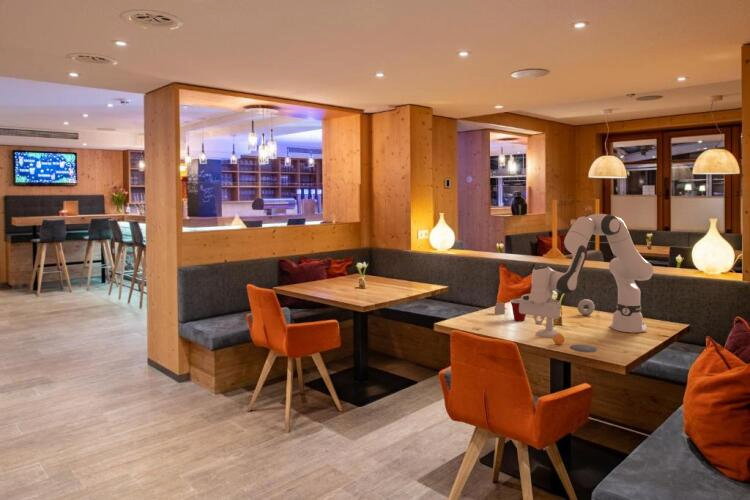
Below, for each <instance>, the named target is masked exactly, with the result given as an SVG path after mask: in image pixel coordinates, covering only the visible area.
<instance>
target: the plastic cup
mask: <svg viewBox="0 0 750 500" xmlns="http://www.w3.org/2000/svg"><path fill="white" fill-rule="evenodd" d="M521 300H522V299H521V298H517V299H516V298H515V299H510V301H509V302H510V304H511V307H512V308H511V309H512V314H513V319H514V321H516V322H524V321H525V320H526V315H527V314H521V313H520V312H519V305H520V301H521Z"/></svg>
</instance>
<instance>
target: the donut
mask: <svg viewBox="0 0 750 500" xmlns="http://www.w3.org/2000/svg"><path fill="white" fill-rule="evenodd" d="M585 306H588V308H587V309H584V307H585ZM595 308H596V307H595V304H594V302H593V301H592V300H590V299H588V298H587V299H586V298H584V299H582V300H580V301H579V302H578V304H577V311H578V313H579V314H581V315H582V316H590V315H592V314H593V313H594V311H595V310H596V309H595Z"/></svg>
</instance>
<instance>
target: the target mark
mask: <svg viewBox="0 0 750 500" xmlns="http://www.w3.org/2000/svg"><path fill="white" fill-rule="evenodd" d="M569 349H571V350H573V351H577V352H581V353H594V352H596V351H598V348H596V347H595V346H593V345H588V344H572V345H570V348H569Z"/></svg>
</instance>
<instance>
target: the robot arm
mask: <svg viewBox="0 0 750 500" xmlns="http://www.w3.org/2000/svg"><path fill="white" fill-rule="evenodd" d="M628 229H629V228H628V227H627V225H626V224H625V222H624V220H622V218H620V217H617V216H615V215H614V214H605V213H595V214H593V213H590V214H585V215H584V216H580V217H577V219H576V220H575V221H574V223H572V225H571V227H570V228H569V230H568V232H567V233H566V235H565V237H564V241H563V244H564V247H565V250H567V251H568V252H569V253H571V254H572V259H571V261H570V263H569V266H568V269H567V271H566V272H560V271H557V270H554V269H552V268H551V267H550V266H549V265H546V264H539V265H535V266H534V267H533V268H532V271H531V272H532V273H531V281H530V282H531V289H530V293H526V294H523V295H521V296H520V299H522V300H521V301H520V305H519V312H520V313H521V314H526V315H528V316H533V319H534V321H535V323H534V324H535V326H536V325H538V326H542V325H543V322H544V320H545V319H546V318H547V317H548V318H553V319H559V318H560V316H561V309H560V308H561V301H559V300H558V299H553V298H552V299H549V290H550V289H551V290H552V291H553V292H559V293H561V294H563V295H564V294H565V295H571V294H573V293H574V292H575V290H577V288H578V284H579V278H580V276H581V273H582V270H583V267H584V266H585V263H586V258H587V256H588V249H587V246H588V244H589V242H590V240H591V237H592V235H594V236H606V238H607V239H606V240H607V242H608V244H609V247H610V250H611V252H612V254H613V255H614V256H615V257H614V258H612V259H611V260H610V262H609V265H608V268H609V272H610V273H611V274H612V275H613V277H614V280H615V283H616V286H617V302H616V310H615V311H614V312H613V315H612V323H611V324H609V326H608V327H609V328H610V329H614V330H615V331H619V332H624V333H647V332H648V331H647V324H646V323H644V321H643V318H644V317H643V314H642V312H641V311H642V305H641V304H642V303H641V293H642V292H641V289H640V288H639V286H638V285H637V283H636V282H635V281H648V280H650V279H651V278H652V276H653V275H654V267H653V264H652V263H650V262H649V261H647V260H646V259H645V258H644V257H643V256H642V255H641V253H640V252H639V251H638V249H637V248H636V246H635V245H634V242H633V239H632V237H631V234H630V232H629V230H628ZM538 317H540V320H538Z"/></svg>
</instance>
